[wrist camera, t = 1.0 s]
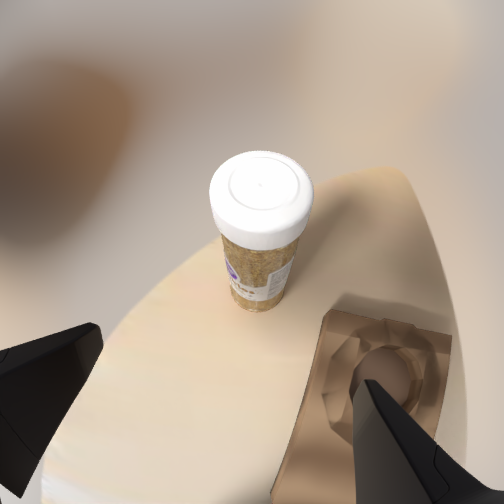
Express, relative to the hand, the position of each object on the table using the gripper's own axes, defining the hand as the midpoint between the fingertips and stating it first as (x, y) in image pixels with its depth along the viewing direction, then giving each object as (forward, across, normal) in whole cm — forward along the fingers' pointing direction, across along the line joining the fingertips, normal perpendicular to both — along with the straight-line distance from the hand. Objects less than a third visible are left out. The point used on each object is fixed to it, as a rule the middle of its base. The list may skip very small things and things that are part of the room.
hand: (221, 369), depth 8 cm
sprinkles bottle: (+15, 0, +4) cm, 16 cm away
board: (+8, -11, +12) cm, 18 cm away
